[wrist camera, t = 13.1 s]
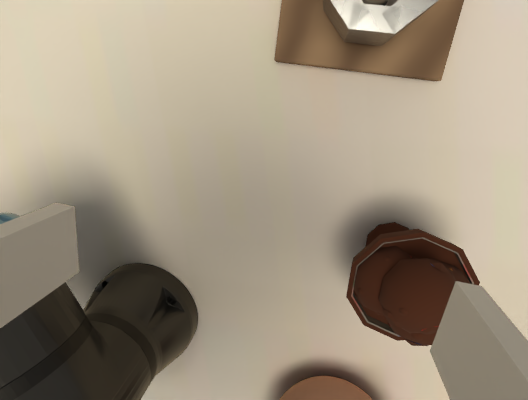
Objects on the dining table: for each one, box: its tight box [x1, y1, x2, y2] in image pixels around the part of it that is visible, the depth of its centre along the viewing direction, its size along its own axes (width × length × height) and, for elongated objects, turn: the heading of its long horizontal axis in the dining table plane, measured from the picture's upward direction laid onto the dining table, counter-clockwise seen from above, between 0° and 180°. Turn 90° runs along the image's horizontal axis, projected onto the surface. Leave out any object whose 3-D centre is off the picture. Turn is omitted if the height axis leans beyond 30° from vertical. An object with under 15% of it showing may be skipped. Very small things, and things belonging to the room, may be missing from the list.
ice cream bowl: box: [346, 222, 480, 346], centre depth 30 cm, size 11×11×15 cm
